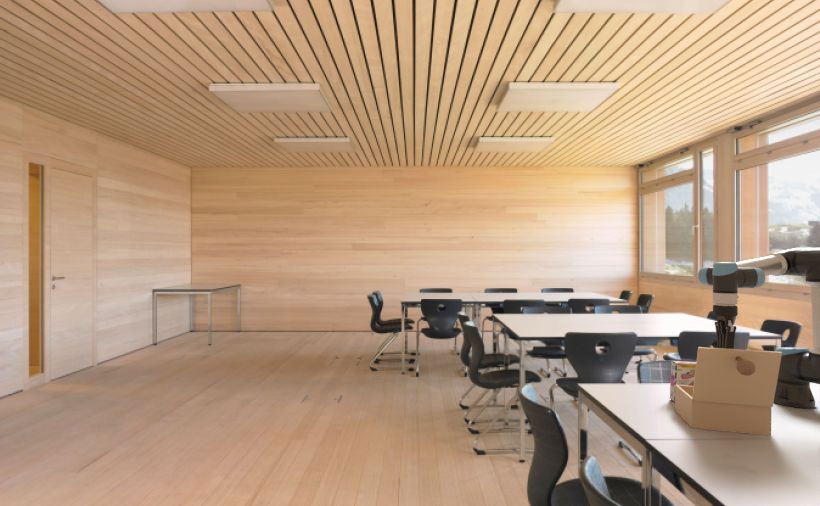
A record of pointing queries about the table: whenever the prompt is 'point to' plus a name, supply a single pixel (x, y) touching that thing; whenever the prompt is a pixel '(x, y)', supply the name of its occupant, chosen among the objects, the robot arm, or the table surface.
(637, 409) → the table surface
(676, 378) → the candy bar box
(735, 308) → the robot arm
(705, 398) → the wooden lid with knob
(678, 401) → the wooden box
